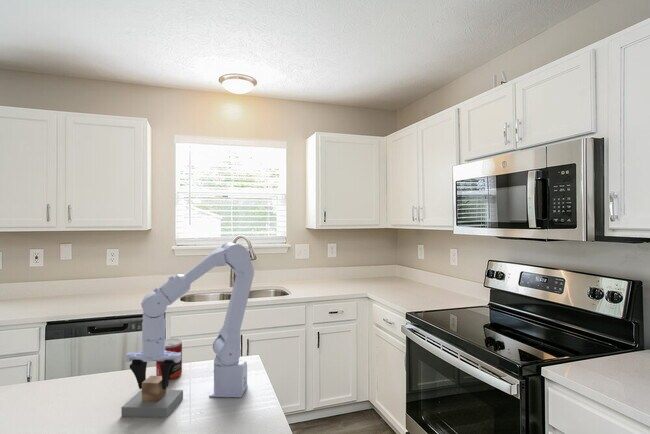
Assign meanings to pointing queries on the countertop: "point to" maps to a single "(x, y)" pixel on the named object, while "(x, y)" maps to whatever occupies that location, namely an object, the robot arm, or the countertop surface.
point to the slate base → (152, 405)
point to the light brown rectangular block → (152, 389)
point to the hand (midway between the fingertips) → (153, 387)
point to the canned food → (176, 346)
